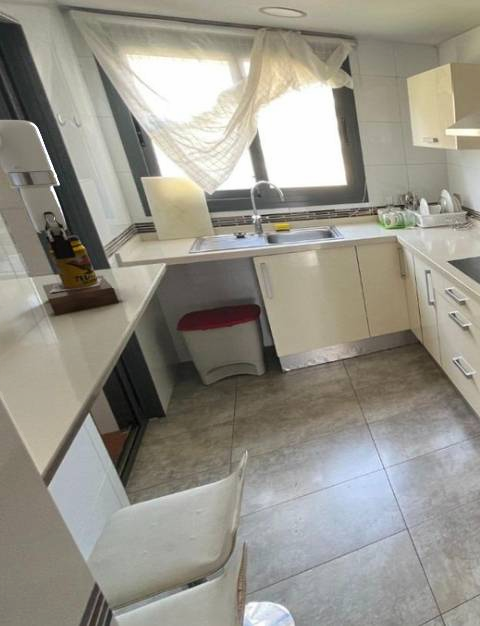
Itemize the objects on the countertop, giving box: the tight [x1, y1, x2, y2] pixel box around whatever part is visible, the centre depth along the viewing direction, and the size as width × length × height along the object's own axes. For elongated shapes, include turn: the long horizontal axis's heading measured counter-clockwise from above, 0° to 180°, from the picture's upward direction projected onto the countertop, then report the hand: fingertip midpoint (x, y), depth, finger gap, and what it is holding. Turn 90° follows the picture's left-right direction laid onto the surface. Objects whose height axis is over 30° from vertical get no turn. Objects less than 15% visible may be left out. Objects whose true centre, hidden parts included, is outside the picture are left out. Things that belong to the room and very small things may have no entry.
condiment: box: [46, 234, 101, 293], centre depth 109 cm, size 7×8×12 cm
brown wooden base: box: [42, 275, 120, 317], centre depth 112 cm, size 11×16×4 cm
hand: (64, 255), depth 108 cm, fingers open, 9 cm apart
